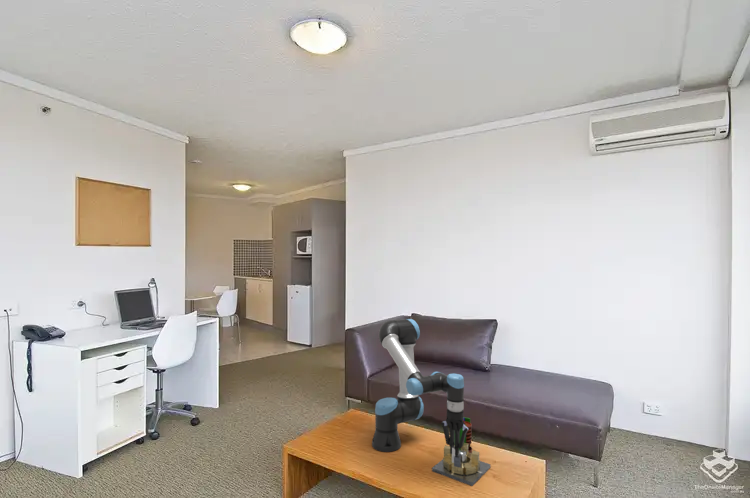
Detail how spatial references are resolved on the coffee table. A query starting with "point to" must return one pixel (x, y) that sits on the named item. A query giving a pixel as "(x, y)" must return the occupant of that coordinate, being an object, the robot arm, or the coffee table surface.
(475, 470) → the ring nut
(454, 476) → the flange plate
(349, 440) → the coffee table surface
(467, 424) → the motor
